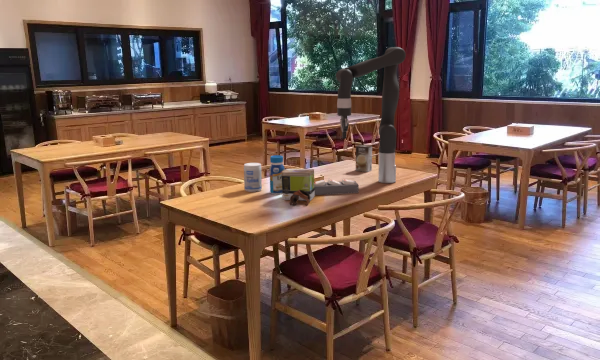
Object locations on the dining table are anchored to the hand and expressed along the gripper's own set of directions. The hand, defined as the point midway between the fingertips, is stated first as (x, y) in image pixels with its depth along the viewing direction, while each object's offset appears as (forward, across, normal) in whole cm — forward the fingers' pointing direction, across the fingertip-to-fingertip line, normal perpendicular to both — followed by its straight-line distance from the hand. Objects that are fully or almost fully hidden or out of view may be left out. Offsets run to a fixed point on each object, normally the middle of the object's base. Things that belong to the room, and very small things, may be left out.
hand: (344, 138), depth 276 cm
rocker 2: (+22, -12, +8) cm, 27 cm away
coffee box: (+27, +38, -20) cm, 51 cm away
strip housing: (+27, -12, +8) cm, 31 cm away
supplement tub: (+27, 0, +51) cm, 58 cm away
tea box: (+27, -21, +28) cm, 44 cm away
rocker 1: (+22, -12, +16) cm, 30 cm away
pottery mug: (+27, -33, +29) cm, 52 cm away
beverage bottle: (+27, -8, +38) cm, 47 cm away
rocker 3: (+22, -12, 0) cm, 26 cm away
